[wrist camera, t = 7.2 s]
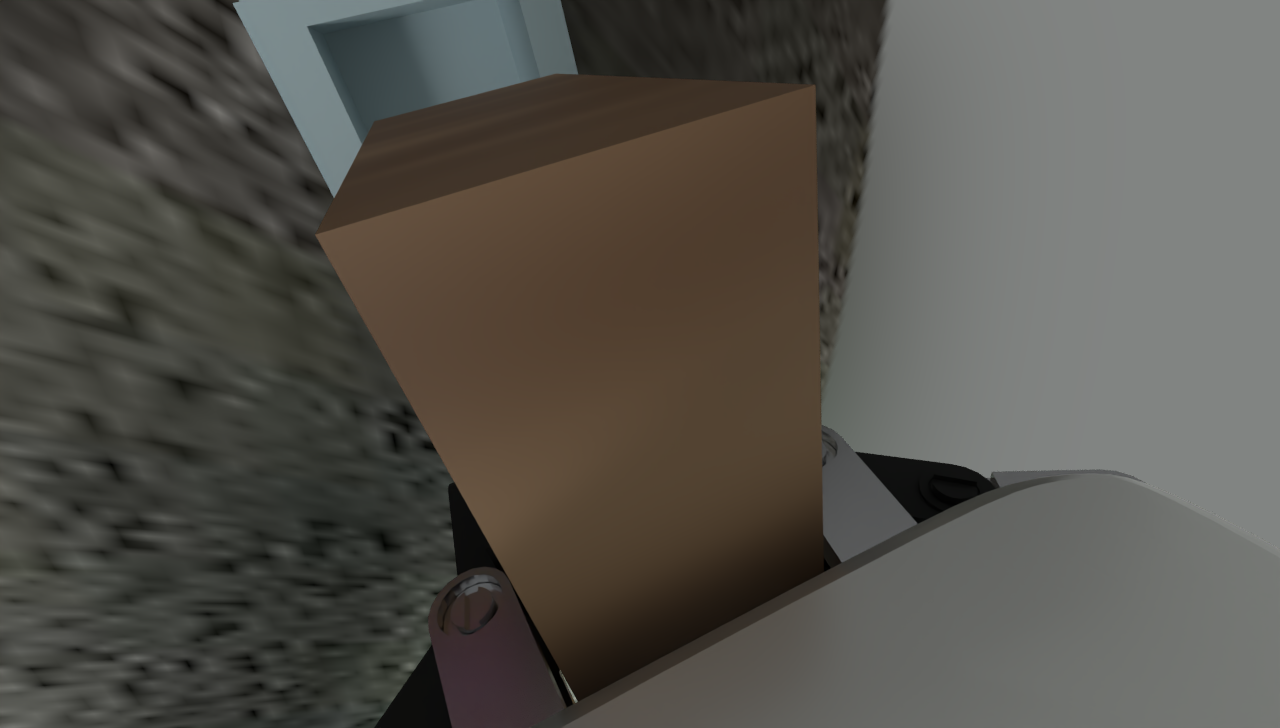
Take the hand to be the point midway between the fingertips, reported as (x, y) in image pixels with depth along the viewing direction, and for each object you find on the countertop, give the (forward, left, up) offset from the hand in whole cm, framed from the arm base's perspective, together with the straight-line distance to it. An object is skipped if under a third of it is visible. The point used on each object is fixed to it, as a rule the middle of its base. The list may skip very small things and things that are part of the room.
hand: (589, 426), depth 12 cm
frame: (0, 0, -2) cm, 2 cm away
